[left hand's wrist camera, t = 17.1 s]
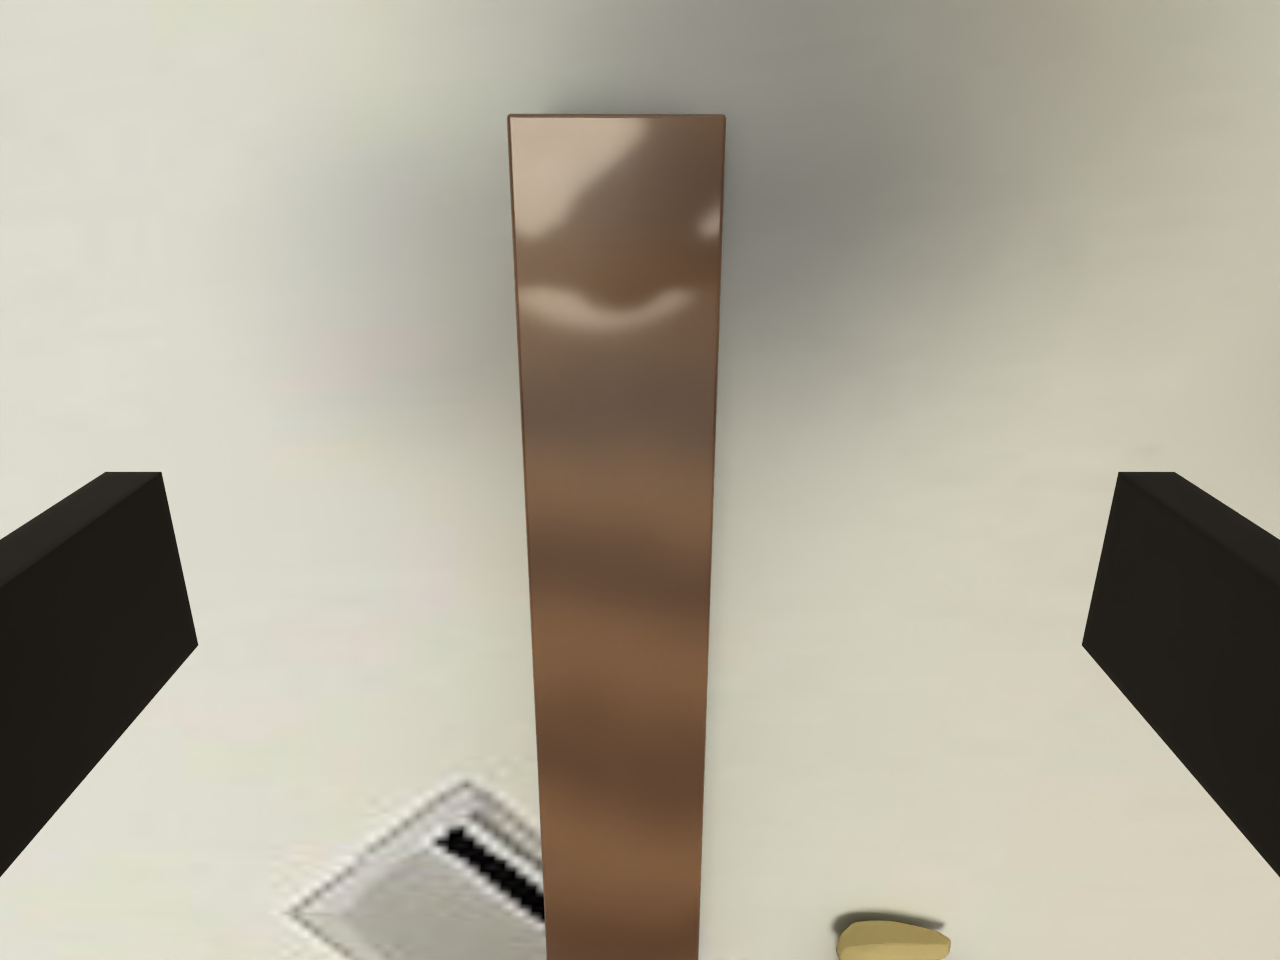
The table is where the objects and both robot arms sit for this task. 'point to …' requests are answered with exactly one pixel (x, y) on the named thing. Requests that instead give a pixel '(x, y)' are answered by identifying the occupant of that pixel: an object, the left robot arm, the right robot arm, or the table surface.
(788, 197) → the table surface
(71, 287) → the table surface
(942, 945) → the toy gun
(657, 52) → the table surface
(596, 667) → the beam
